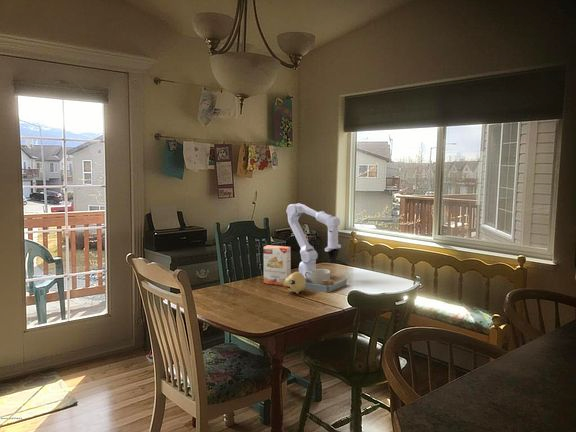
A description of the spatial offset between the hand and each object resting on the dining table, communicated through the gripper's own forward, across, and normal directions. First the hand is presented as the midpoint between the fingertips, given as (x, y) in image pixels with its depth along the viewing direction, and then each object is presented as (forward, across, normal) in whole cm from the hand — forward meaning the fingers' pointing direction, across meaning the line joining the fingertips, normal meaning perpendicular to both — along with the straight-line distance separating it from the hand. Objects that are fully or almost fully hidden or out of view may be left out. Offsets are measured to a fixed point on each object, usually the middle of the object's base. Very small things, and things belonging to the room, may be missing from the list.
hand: (333, 262), depth 258 cm
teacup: (+11, -13, +2) cm, 17 cm away
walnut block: (+10, -18, -8) cm, 22 cm away
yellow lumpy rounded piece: (+11, -33, +3) cm, 35 cm away
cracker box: (+10, -24, +21) cm, 34 cm away
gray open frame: (+10, -13, -1) cm, 17 cm away
